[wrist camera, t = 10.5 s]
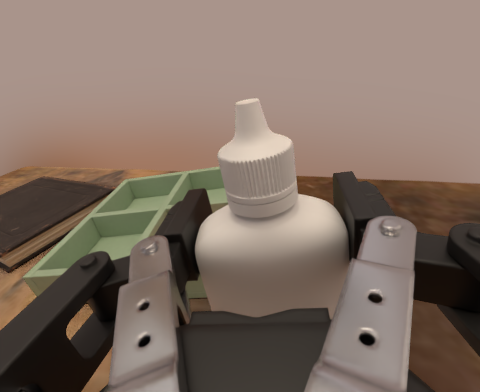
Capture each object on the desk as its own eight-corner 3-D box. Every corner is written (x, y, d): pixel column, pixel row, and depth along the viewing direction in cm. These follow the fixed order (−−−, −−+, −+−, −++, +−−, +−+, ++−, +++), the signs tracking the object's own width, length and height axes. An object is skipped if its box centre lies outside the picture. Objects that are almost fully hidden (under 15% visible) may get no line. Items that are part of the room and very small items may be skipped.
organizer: (43, 305, 25) (21, 277, 23) (133, 200, 41) (124, 179, 39) (247, 296, 21) (238, 262, 20) (259, 185, 37) (255, 161, 36)
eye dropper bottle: (257, 299, 17) (213, 92, 11) (356, 333, 14) (363, 76, 8) (216, 367, 14) (127, 126, 8) (333, 428, 11) (320, 119, 5)
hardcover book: (8, 273, 30) (-4, 256, 29) (-52, 234, 42) (-62, 222, 41) (126, 198, 41) (120, 185, 40) (52, 185, 54) (46, 174, 53)
